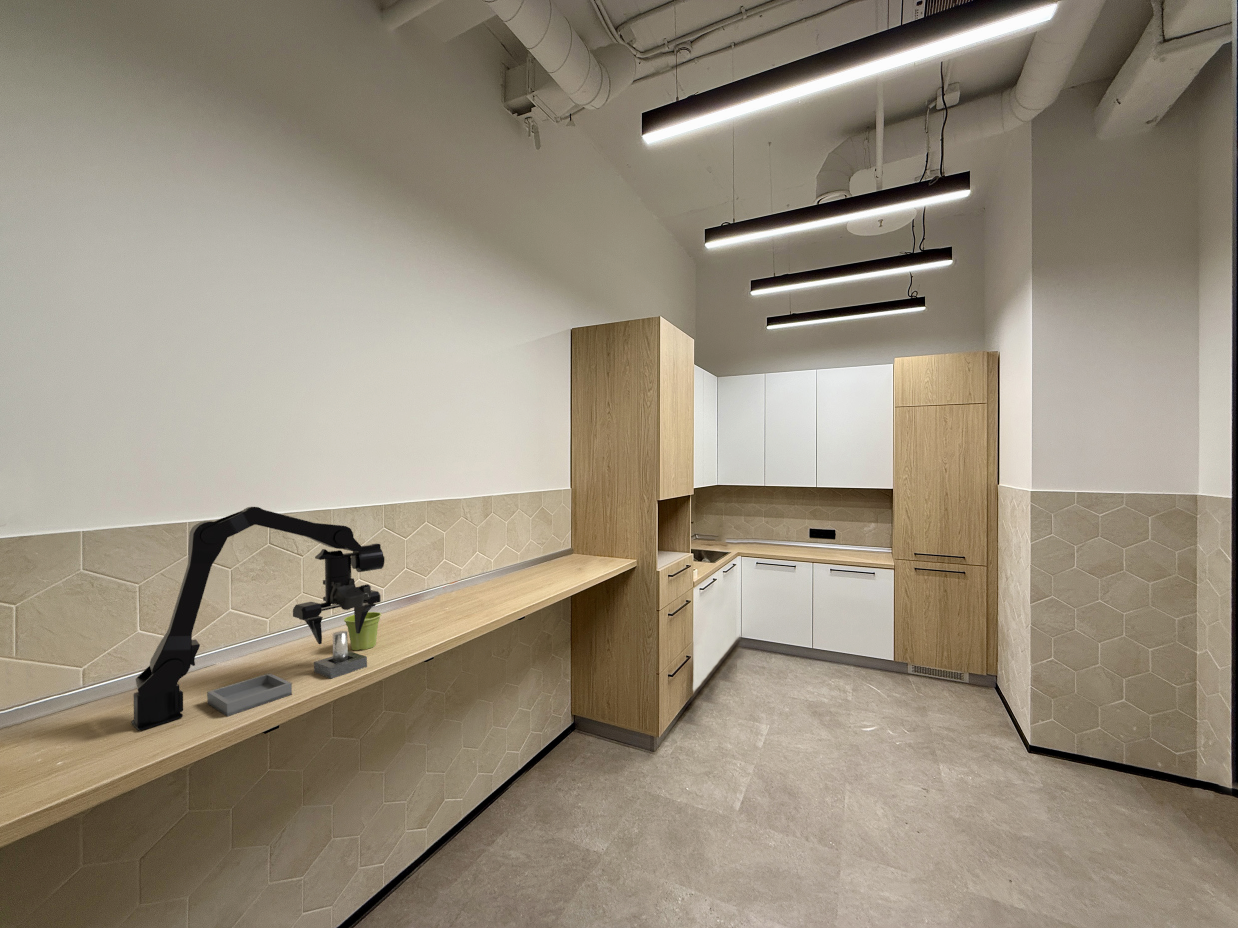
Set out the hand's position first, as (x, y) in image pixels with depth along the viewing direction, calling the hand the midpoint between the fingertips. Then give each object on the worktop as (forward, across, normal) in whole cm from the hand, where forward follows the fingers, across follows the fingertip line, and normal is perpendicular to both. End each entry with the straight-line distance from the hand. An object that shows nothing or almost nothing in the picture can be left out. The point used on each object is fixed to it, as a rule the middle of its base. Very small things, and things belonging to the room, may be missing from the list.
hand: (339, 638), depth 123 cm
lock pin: (+8, 0, 0) cm, 8 cm away
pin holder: (+8, 0, 0) cm, 8 cm away
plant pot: (+8, +12, +12) cm, 19 cm away
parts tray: (+8, -19, 0) cm, 20 cm away
